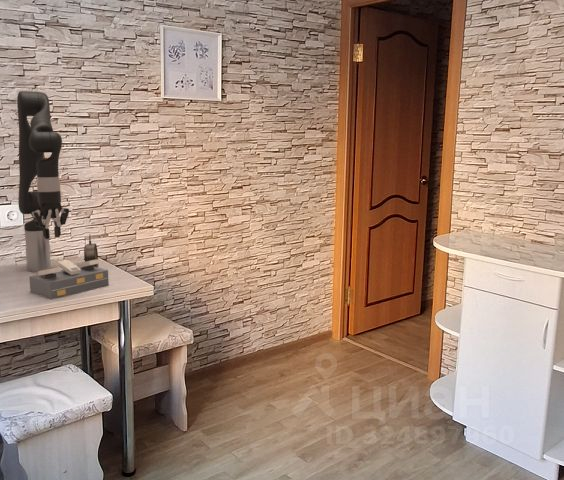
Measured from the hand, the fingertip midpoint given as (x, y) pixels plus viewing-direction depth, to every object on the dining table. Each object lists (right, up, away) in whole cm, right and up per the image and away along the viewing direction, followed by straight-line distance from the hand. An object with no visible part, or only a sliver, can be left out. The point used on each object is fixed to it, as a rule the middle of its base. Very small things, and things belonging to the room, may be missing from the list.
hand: (52, 237), depth 207 cm
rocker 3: (+7, -10, +17) cm, 21 cm away
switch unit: (+2, -19, +12) cm, 23 cm away
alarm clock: (+2, -14, +38) cm, 40 cm away
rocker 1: (-3, -12, +5) cm, 13 cm away
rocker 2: (+2, -11, +11) cm, 16 cm away
